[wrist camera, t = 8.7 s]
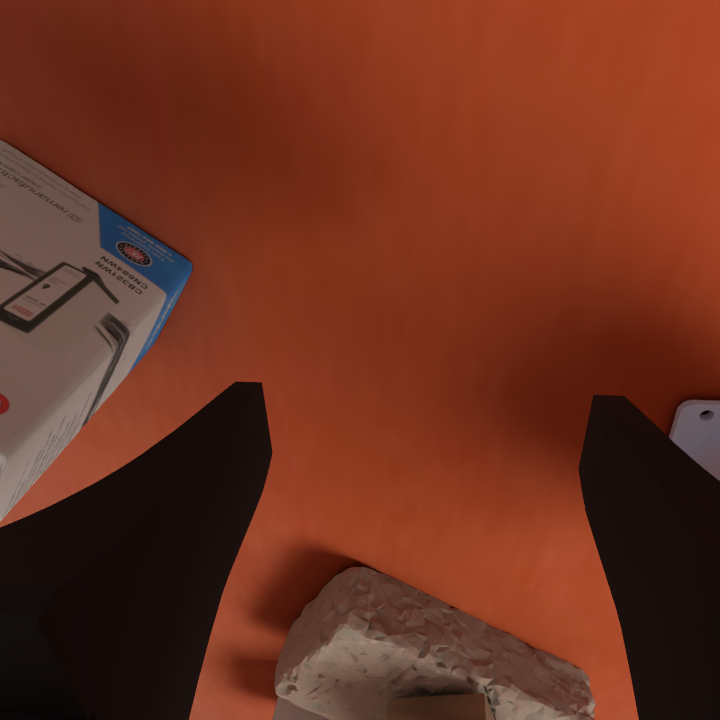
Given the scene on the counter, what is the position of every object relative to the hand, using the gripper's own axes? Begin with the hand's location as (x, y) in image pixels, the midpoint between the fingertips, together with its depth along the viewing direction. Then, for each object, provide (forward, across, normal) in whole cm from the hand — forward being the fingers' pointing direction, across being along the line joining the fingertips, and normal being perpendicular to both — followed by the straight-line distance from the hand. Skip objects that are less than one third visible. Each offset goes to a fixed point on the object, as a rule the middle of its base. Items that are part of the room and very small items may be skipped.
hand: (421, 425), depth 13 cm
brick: (+11, -1, +25) cm, 27 cm away
